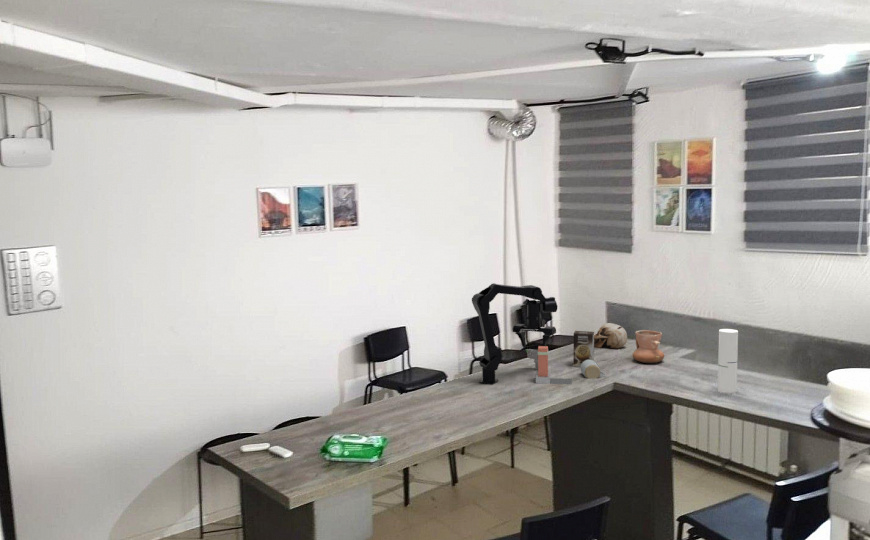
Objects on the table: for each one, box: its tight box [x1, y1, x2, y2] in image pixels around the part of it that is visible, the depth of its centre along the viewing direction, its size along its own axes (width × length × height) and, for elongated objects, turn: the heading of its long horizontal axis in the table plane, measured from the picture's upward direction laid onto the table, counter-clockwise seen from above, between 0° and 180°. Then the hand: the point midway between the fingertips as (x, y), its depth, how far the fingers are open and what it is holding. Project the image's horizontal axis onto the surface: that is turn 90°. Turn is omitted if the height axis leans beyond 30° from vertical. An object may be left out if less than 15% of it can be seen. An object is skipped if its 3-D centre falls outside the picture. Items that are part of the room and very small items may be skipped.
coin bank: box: [594, 322, 628, 350], centre depth 370 cm, size 16×17×13 cm
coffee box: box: [572, 330, 595, 368], centre depth 333 cm, size 9×6×16 cm
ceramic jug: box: [632, 329, 665, 364], centre depth 338 cm, size 18×14×14 cm
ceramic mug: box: [580, 360, 607, 379], centre depth 312 cm, size 11×8×8 cm
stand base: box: [533, 371, 573, 385], centre depth 306 cm, size 16×8×4 cm, turn 79°
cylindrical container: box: [717, 328, 739, 394], centre depth 288 cm, size 7×7×25 cm
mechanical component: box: [525, 348, 538, 371], centre depth 325 cm, size 3×10×10 cm, turn 53°
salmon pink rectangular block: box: [537, 345, 549, 376], centre depth 306 cm, size 4×4×12 cm
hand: (534, 348), depth 316 cm, fingers open, 9 cm apart
